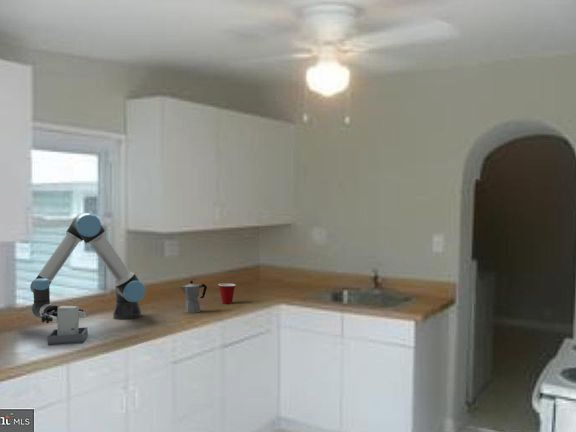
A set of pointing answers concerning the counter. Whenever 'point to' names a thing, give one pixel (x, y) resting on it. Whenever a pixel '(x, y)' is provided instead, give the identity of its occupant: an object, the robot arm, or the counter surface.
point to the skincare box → (68, 320)
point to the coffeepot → (193, 297)
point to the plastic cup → (227, 292)
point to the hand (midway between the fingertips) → (70, 317)
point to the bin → (68, 337)
